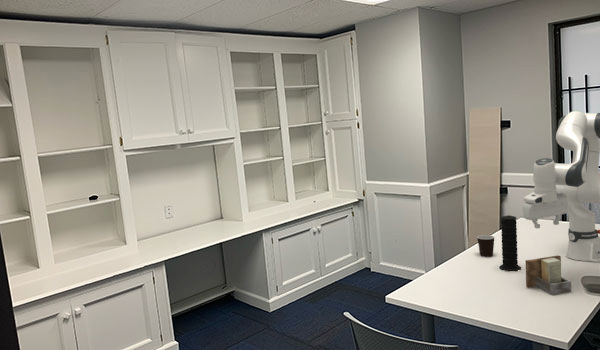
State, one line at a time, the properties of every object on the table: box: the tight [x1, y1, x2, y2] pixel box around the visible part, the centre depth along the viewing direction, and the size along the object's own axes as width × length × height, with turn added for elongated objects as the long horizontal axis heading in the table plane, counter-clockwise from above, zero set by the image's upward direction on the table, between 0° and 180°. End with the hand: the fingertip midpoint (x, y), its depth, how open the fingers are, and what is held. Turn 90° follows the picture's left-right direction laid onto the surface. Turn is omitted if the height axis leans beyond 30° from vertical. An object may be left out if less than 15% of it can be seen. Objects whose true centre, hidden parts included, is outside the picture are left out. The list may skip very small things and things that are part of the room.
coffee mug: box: [476, 234, 495, 258], centre depth 247 cm, size 12×9×10 cm
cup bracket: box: [525, 254, 572, 296], centre depth 196 cm, size 16×12×12 cm
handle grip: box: [498, 214, 522, 272], centre depth 223 cm, size 10×26×10 cm
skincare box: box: [541, 258, 562, 284], centre depth 195 cm, size 6×4×12 cm
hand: (546, 226), depth 204 cm, fingers open, 8 cm apart
